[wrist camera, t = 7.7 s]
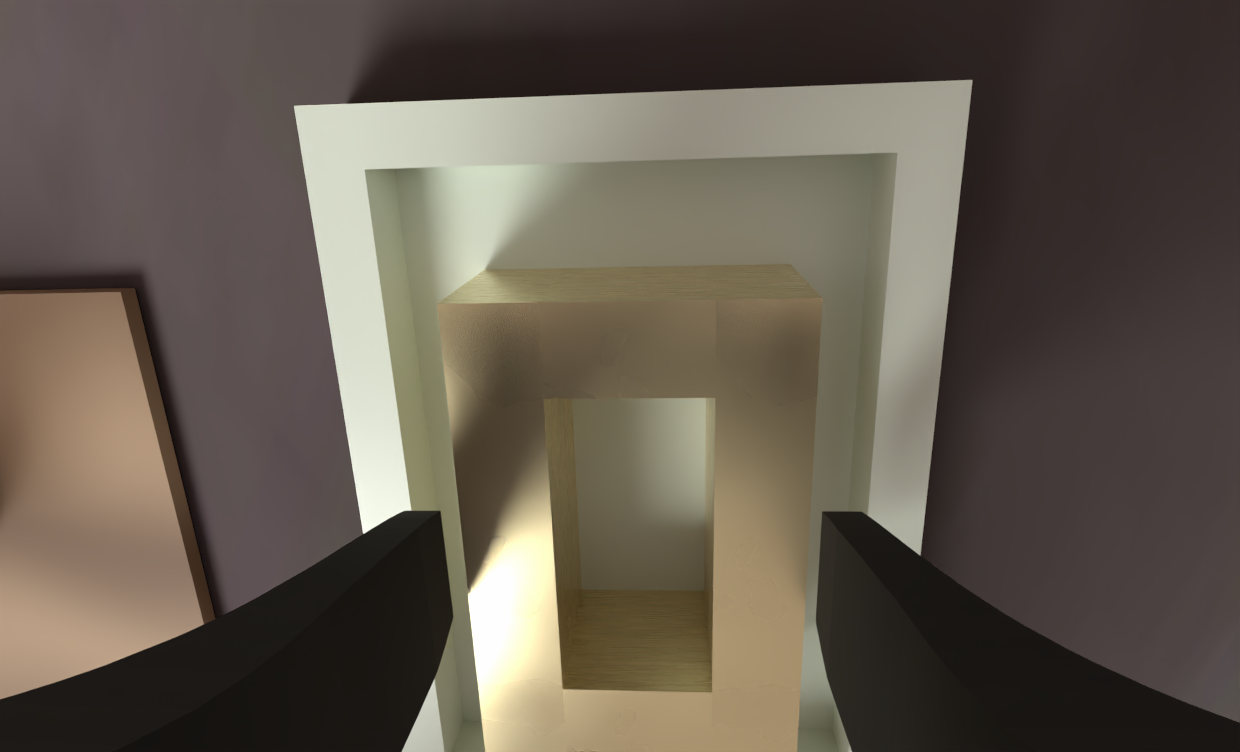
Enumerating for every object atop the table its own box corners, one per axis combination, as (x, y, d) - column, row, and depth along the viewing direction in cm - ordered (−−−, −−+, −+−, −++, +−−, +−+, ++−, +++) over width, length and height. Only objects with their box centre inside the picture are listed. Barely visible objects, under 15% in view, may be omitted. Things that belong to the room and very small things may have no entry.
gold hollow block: (789, 263, 13) (823, 298, 10) (771, 696, 16) (793, 815, 13) (485, 269, 14) (436, 304, 11) (521, 691, 17) (491, 804, 14)
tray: (868, 748, 17) (891, 818, 15) (432, 737, 18) (406, 803, 16) (930, 86, 13) (972, 80, 11) (342, 109, 13) (294, 105, 12)
